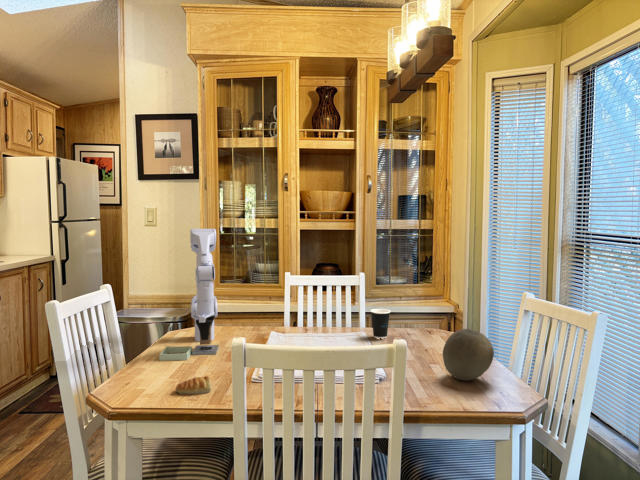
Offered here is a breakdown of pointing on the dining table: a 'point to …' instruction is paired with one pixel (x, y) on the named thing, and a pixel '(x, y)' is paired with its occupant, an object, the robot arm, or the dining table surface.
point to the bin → (182, 349)
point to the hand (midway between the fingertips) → (205, 338)
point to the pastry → (194, 386)
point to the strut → (206, 340)
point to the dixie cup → (380, 322)
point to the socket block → (205, 350)
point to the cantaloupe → (467, 354)
